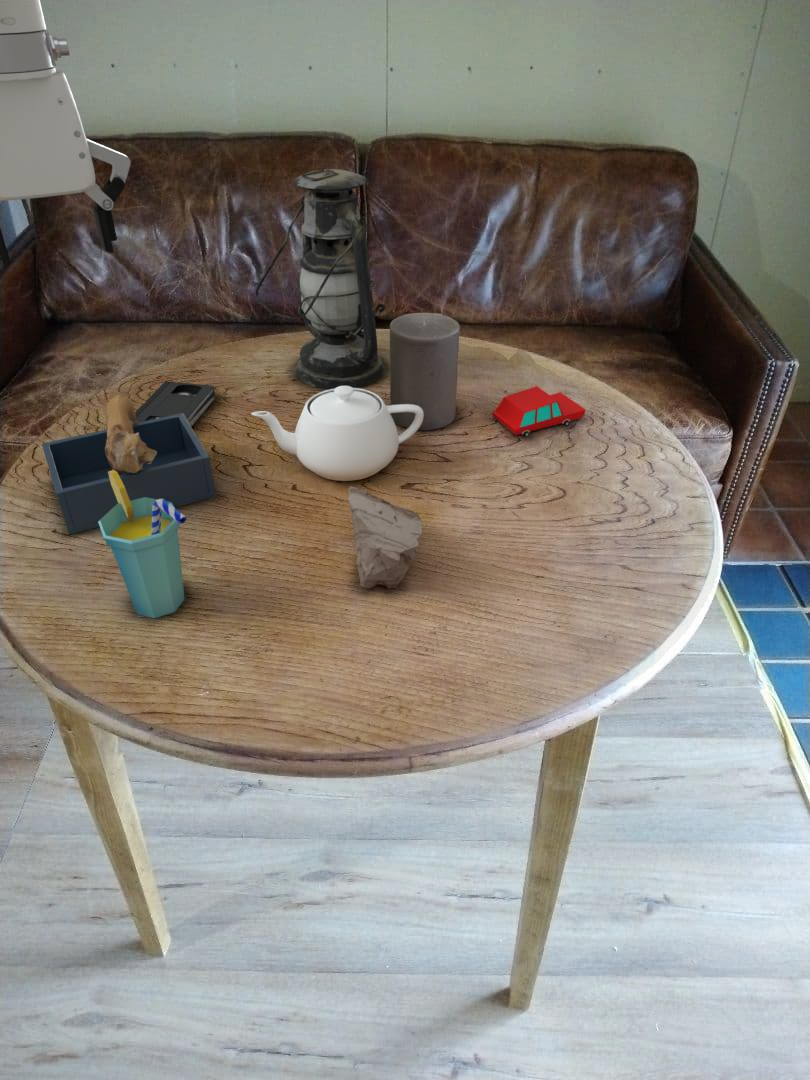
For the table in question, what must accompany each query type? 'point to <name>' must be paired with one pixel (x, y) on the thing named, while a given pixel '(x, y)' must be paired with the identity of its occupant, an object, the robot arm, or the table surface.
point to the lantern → (334, 284)
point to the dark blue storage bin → (170, 475)
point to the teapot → (344, 433)
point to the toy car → (536, 410)
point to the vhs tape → (177, 401)
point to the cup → (146, 549)
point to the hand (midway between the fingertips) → (58, 255)
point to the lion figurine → (125, 438)
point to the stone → (382, 538)
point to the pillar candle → (424, 368)
